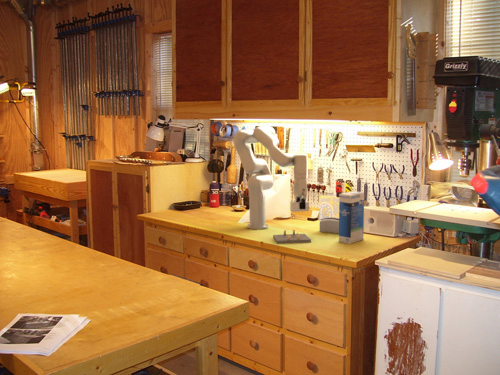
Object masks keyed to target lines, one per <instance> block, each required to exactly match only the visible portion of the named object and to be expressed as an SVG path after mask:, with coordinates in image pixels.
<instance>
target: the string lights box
mask: <svg viewBox="0 0 500 375" xmlns="http://www.w3.org/2000/svg"><path fill="white" fill-rule="evenodd" d="M338 197H339V198H338V199H339V201H338V203H339V204H338V210H339V212H338V218H339V233H338V242H339V243H344V244H349V245H350V244H353V243H357V242H361V241H363V240H364V235H365V234H364V227H365V226H364V225H365V224H364V223H365V221H364V220H365V192H363V191H355V190H354V191H348V192H342V193H339V196H338Z"/></svg>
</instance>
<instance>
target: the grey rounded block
mask: <svg viewBox="0 0 500 375" xmlns="http://www.w3.org/2000/svg"><path fill="white" fill-rule="evenodd" d="M319 232H324V233H332V234H333V233H335V234H339V217H337V216H336V217H335V216H334V217H333V216H328V217H322V218H321V219H320V221H319Z"/></svg>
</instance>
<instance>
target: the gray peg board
mask: <svg viewBox="0 0 500 375" xmlns="http://www.w3.org/2000/svg"><path fill="white" fill-rule="evenodd" d="M272 237H273V238H272V239H273V240H274V241H275V243H276V244H278V245H280V244H298V243H299V244H301V243H305V244H307V243H312V239H311V238H310V237H309V236H308V235H307V234H306V233H296V230H295V229H292V233H290V234H289V233H288V234H287V230H286V229H283V234H273V235H272Z"/></svg>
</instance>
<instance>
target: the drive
mask: <svg viewBox="0 0 500 375" xmlns="http://www.w3.org/2000/svg"><path fill="white" fill-rule="evenodd" d="M289 209H290V211H291V212H292V213H293V212H294V213H296V212H298V213H299V212H309V211H310V202H309V201H307V200H306V209H300V201H296V200H293V201H290V208H289Z"/></svg>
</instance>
